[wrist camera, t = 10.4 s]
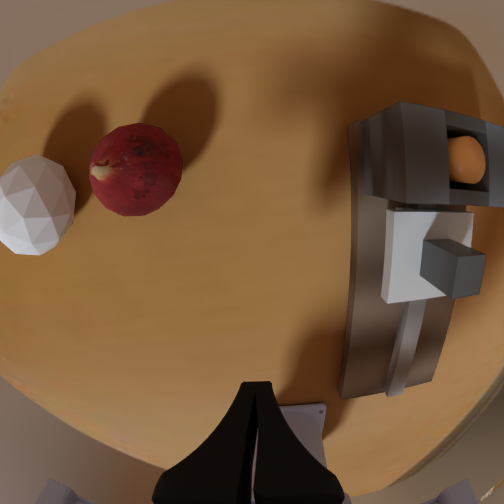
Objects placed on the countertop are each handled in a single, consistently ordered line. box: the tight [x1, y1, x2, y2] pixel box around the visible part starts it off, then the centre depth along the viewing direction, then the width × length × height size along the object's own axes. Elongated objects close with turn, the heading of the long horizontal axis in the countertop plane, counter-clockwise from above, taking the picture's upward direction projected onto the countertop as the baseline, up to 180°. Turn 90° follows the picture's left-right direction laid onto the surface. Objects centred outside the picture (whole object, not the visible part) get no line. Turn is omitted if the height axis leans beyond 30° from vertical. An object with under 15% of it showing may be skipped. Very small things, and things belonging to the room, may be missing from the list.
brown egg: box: [447, 136, 486, 184], centre depth 13 cm, size 3×3×4 cm
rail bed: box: [338, 102, 504, 399], centre depth 17 cm, size 23×10×8 cm, turn 3°
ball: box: [0, 154, 76, 255], centre depth 17 cm, size 8×8×8 cm
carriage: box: [381, 207, 486, 304], centre depth 15 cm, size 6×7×6 cm
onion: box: [89, 123, 183, 216], centre depth 15 cm, size 6×6×8 cm
